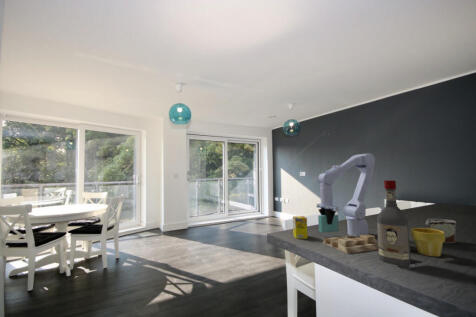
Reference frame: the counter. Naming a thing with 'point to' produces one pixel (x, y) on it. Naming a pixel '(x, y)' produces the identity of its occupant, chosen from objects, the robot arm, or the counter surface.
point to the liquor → (393, 230)
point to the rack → (354, 249)
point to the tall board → (324, 226)
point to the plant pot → (428, 240)
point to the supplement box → (300, 227)
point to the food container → (443, 228)
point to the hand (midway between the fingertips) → (327, 223)
